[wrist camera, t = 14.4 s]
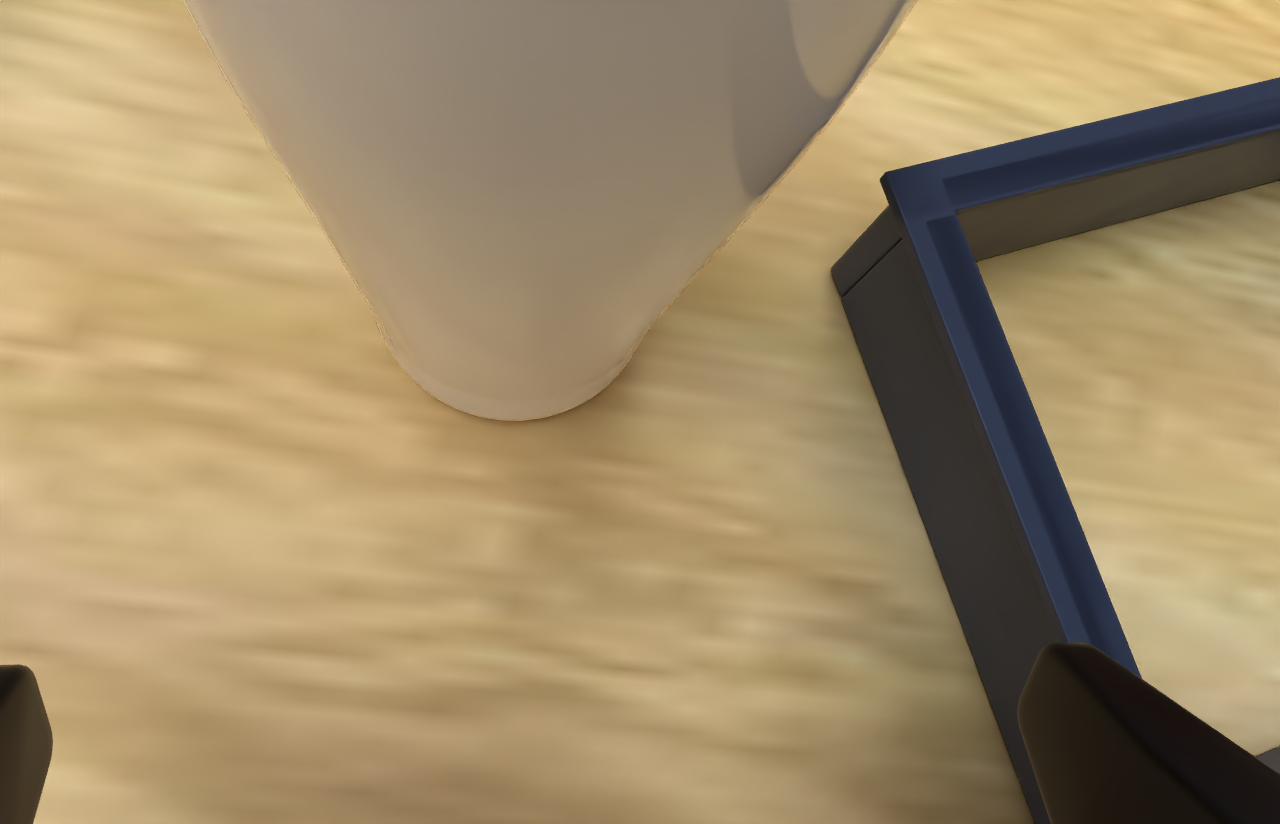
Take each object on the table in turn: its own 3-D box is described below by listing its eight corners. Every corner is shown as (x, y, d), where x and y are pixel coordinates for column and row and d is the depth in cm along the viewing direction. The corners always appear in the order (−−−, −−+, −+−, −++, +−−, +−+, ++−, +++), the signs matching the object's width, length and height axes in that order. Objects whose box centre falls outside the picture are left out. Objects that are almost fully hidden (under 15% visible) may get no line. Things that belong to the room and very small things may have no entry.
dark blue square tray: (1572, 675, 21) (1811, 682, 18) (1048, 905, 19) (1195, 972, 15) (1312, 130, 24) (1472, 30, 20) (810, 258, 21) (885, 171, 17)
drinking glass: (335, 141, 20) (-56, -1204, 5) (665, 145, 21) (1068, -958, 7) (337, 473, 18) (-196, -157, 4) (692, 457, 19) (1290, -79, 5)
